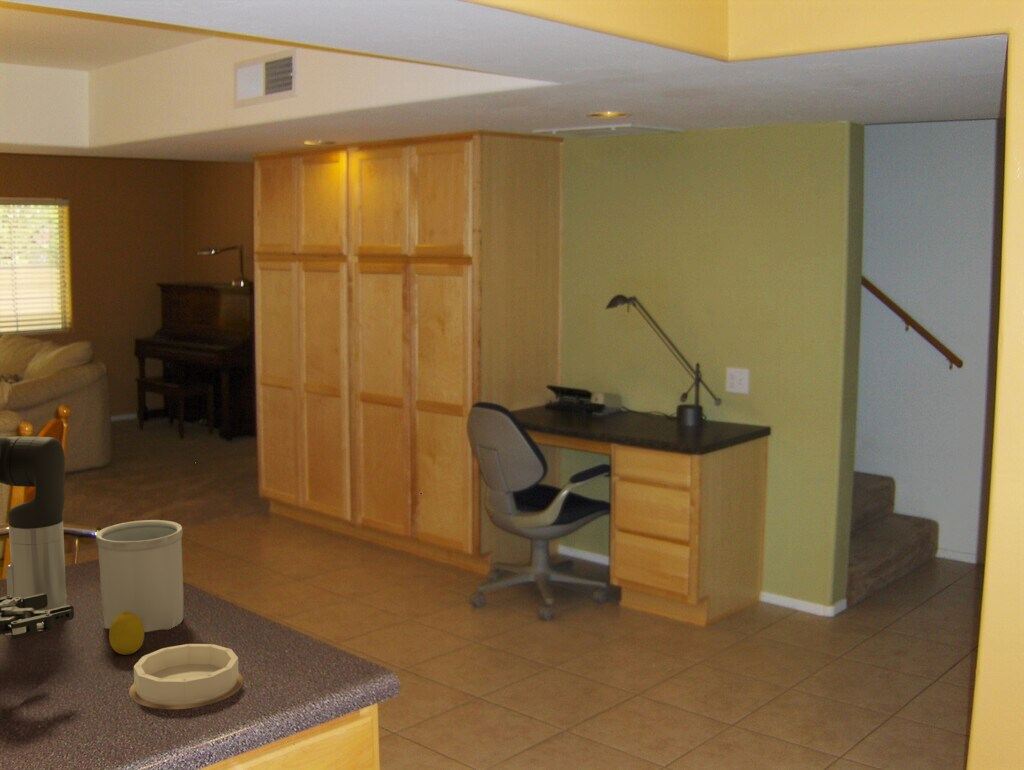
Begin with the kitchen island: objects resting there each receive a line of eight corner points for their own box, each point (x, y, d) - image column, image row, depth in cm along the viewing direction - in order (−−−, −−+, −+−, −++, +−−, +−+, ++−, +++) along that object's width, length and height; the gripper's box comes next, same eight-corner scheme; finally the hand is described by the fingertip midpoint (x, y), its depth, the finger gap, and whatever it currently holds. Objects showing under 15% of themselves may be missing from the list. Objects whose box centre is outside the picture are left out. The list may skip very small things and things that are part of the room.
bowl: (121, 705, 159) (120, 680, 159) (155, 665, 174) (154, 643, 173) (222, 706, 159) (221, 682, 159) (247, 667, 174) (246, 644, 173)
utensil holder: (83, 635, 189) (79, 539, 187) (123, 607, 204) (120, 517, 201) (163, 640, 187) (160, 543, 185) (198, 611, 202) (195, 521, 200)
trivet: (112, 713, 158) (112, 708, 158) (151, 668, 175) (151, 663, 175) (227, 715, 158) (227, 709, 158) (255, 669, 175) (255, 664, 175)
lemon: (133, 664, 176) (132, 617, 175) (103, 661, 177) (101, 615, 176) (151, 652, 182) (149, 607, 181) (121, 649, 183) (120, 604, 182)
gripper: (-28, 617, 152) (81, 591, 164) (-69, 596, 161) (37, 573, 173) (-26, 668, 153) (82, 639, 165) (-67, 644, 162) (38, 618, 174)
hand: (59, 605), depth 169 cm, fingers open, 8 cm apart
